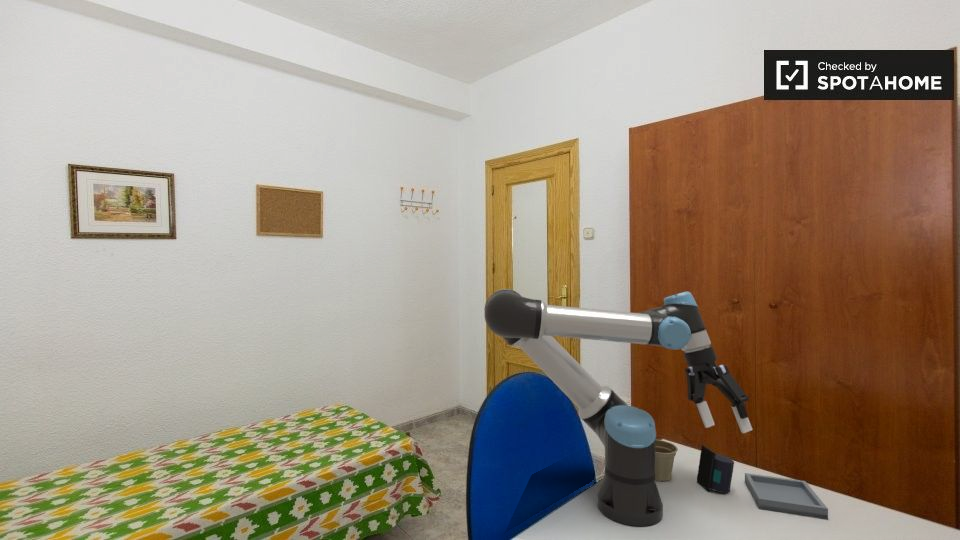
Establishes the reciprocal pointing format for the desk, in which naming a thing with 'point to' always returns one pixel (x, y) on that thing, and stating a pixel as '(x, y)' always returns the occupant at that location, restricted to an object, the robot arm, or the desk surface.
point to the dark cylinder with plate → (714, 471)
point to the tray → (785, 496)
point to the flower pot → (664, 459)
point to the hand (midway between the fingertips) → (727, 428)
